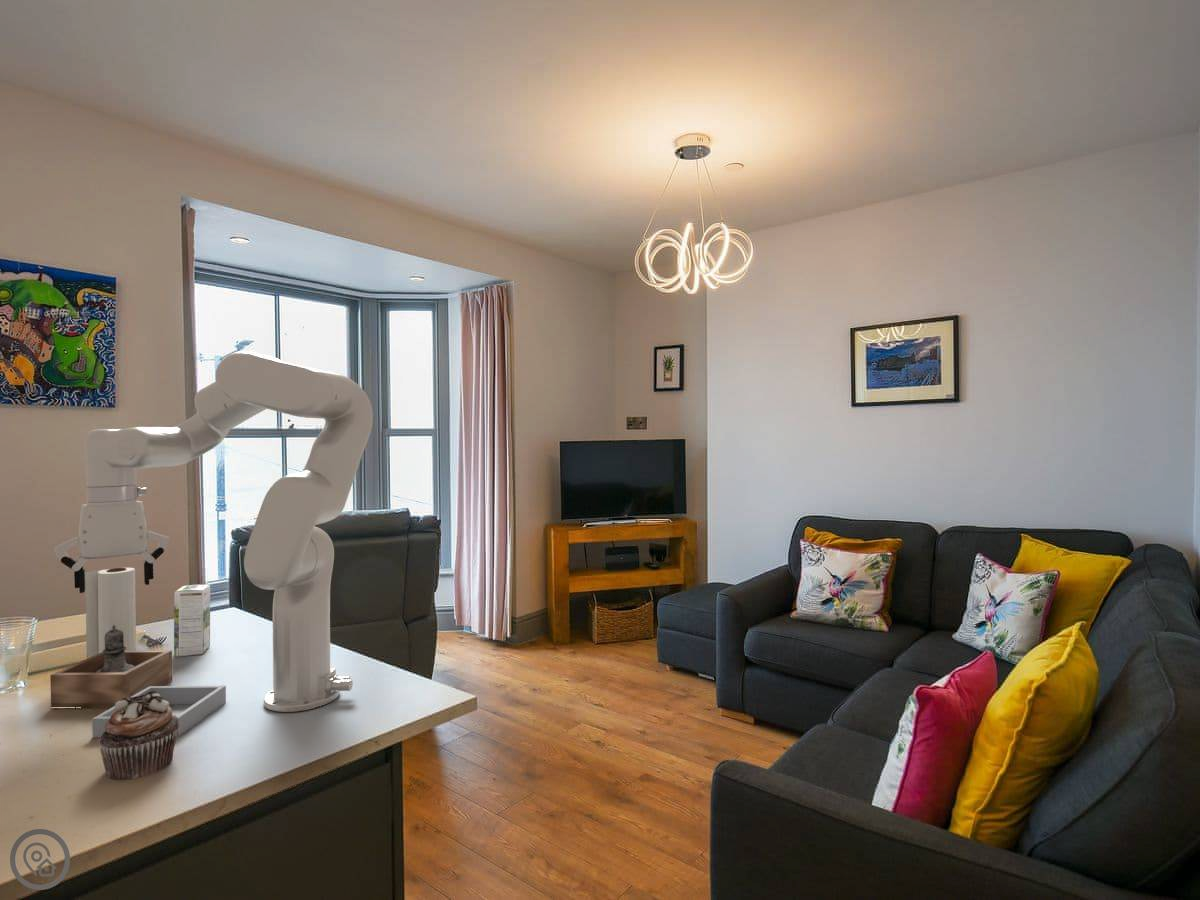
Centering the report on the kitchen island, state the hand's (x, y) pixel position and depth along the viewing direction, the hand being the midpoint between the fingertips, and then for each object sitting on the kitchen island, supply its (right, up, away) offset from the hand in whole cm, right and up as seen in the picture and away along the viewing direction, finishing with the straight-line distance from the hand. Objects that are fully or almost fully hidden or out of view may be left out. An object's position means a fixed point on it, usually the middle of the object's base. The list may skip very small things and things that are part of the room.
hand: (115, 587), depth 121 cm
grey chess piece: (0, -19, 0) cm, 19 cm away
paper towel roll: (-8, -20, +10) cm, 24 cm away
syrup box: (-1, -20, +24) cm, 31 cm away
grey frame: (+16, -20, -10) cm, 28 cm away
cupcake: (+23, -21, -26) cm, 41 cm away
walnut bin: (0, -20, 0) cm, 20 cm away
